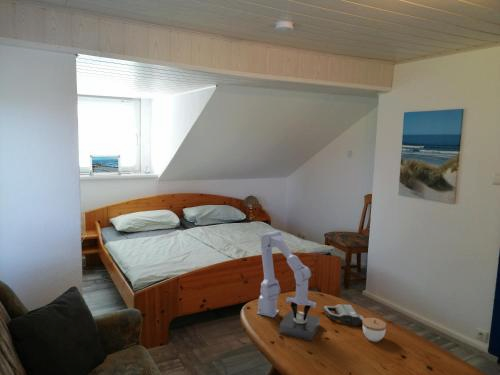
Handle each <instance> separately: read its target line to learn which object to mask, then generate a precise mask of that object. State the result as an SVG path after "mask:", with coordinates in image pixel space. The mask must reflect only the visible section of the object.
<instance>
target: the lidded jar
mask: <svg viewBox="0 0 500 375" xmlns="http://www.w3.org/2000/svg"><path fill="white" fill-rule="evenodd" d="M364 318H365V319H364V320H363V325H362V332H363V334H364V336H365V338H366V339H367V340H368V341H370V342H373V343H374V342H375V343H376V342H380V341H381V340H383V338H384V337H385V335H386V331H387V323H386V322H385V321H383V320H382V319H379V318H376V317H364Z"/></svg>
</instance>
